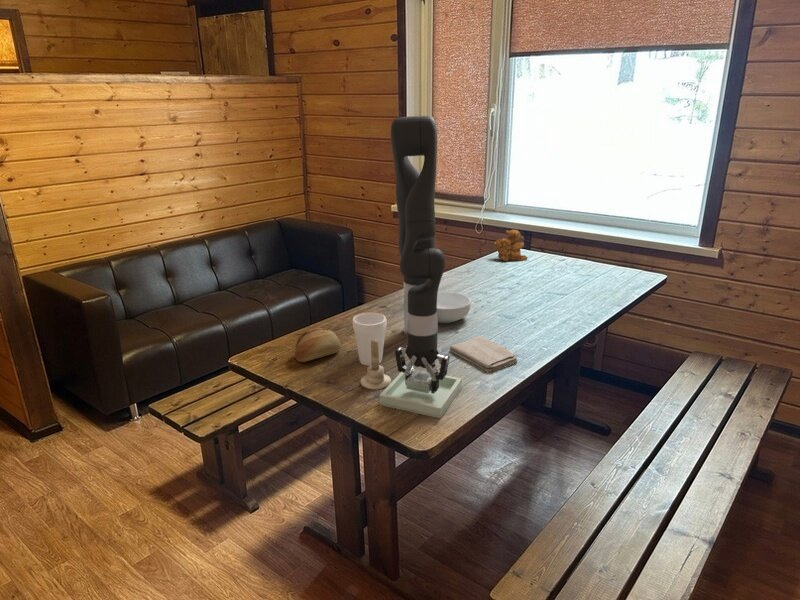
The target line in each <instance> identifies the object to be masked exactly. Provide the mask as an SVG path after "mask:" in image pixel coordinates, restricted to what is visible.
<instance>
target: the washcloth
mask: <svg viewBox="0 0 800 600" xmlns="http://www.w3.org/2000/svg"><path fill="white" fill-rule="evenodd" d="M448 351H450V352H451V353H453V354H455V355H456V356H458V357H460V358H462V359H463V360H465V361H467V362H469V363H471V364H473V365H475V366H477V367H478V368H480V369H482V370H483V371H485V372H487V373H490V371H491V372H493V371H498V370H500V369H503V368H506V367H508V365H509V366H511V365H514V364H516V363H517V362H518V358H517V357H516V354H515V353H514V352H512V351H510V350H509V349H507V347H506V346H504V345H501V344H498V343H496V342H495V341H492V340H490V339H487V338H485V337H484V336H480V335H478V336H475V337H472V338H470V339H468V340H466V341H461V342H458V343H456V344H453V345H451V346H450V347H449V350H448ZM513 363H514V364H513ZM510 364H511V365H510ZM505 366H506V367H505Z"/></svg>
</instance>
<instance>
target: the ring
mask: <svg viewBox="0 0 800 600" xmlns="http://www.w3.org/2000/svg"><path fill="white" fill-rule="evenodd" d="M431 380H432V378H431V376H430V374H429V373H428V372H427V371H426V372H425V370H420V369H415V371H414V372H413V373H412V375H411V376H409V377H408V378H407V380H406V389H410V390H414V391H419V392H424V393H429V392H430V391H431V390H432V381H431Z"/></svg>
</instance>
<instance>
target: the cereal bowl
mask: <svg viewBox="0 0 800 600" xmlns="http://www.w3.org/2000/svg"><path fill="white" fill-rule="evenodd" d="M471 302H472V301H471V299H470V298H469V296H467V295H465V294H463V293H458V292H454V291H438V293H437V318H438V323H440V324H451V323H454V322H456V321H459V320H462V319H464V318H465V317H466V316H467V315H468V313H469V312H470V310H471Z"/></svg>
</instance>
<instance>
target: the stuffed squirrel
mask: <svg viewBox="0 0 800 600" xmlns="http://www.w3.org/2000/svg"><path fill="white" fill-rule="evenodd" d="M505 232H506V234H507V237H508V238H505V237H504V238H502V239H501V238H499V239H497V240H496V241H495V242H494V243H493V245H494V249H495V250H496V251H497V252H498V258H499V259H500V260H501V261H502V262H506V263H507V262H509V261H514V262H522V261H526V260H528V256H527V255H522V254H521V253H522V252H521V251H522V250H521V249H522V248H524V247H525V243H524V242H522V241H521V242H519V240H520V239H524V237H523V235H522V234H521V232H520V231H519V230H517V229H510V230H507V229H506V230H505Z"/></svg>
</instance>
